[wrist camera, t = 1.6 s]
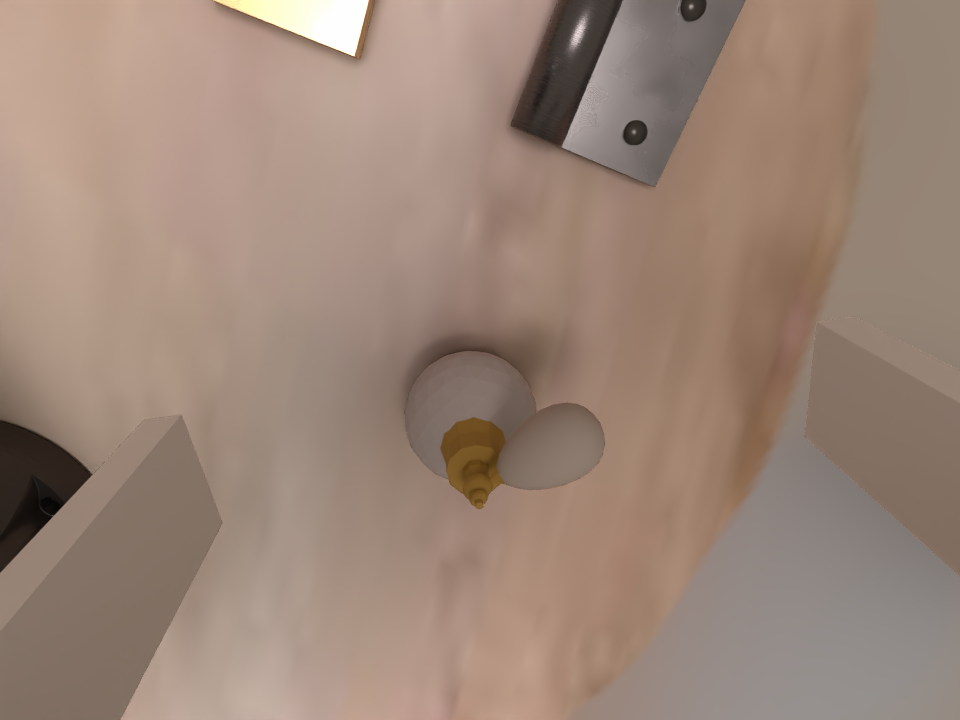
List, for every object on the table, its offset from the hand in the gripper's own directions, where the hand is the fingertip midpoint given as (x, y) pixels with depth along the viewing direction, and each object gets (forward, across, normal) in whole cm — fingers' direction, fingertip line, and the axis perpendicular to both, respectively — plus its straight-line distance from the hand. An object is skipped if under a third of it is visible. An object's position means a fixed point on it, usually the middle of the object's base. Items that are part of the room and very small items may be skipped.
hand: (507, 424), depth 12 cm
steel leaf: (+22, +10, +7) cm, 25 cm away
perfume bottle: (+22, 0, -9) cm, 24 cm away
